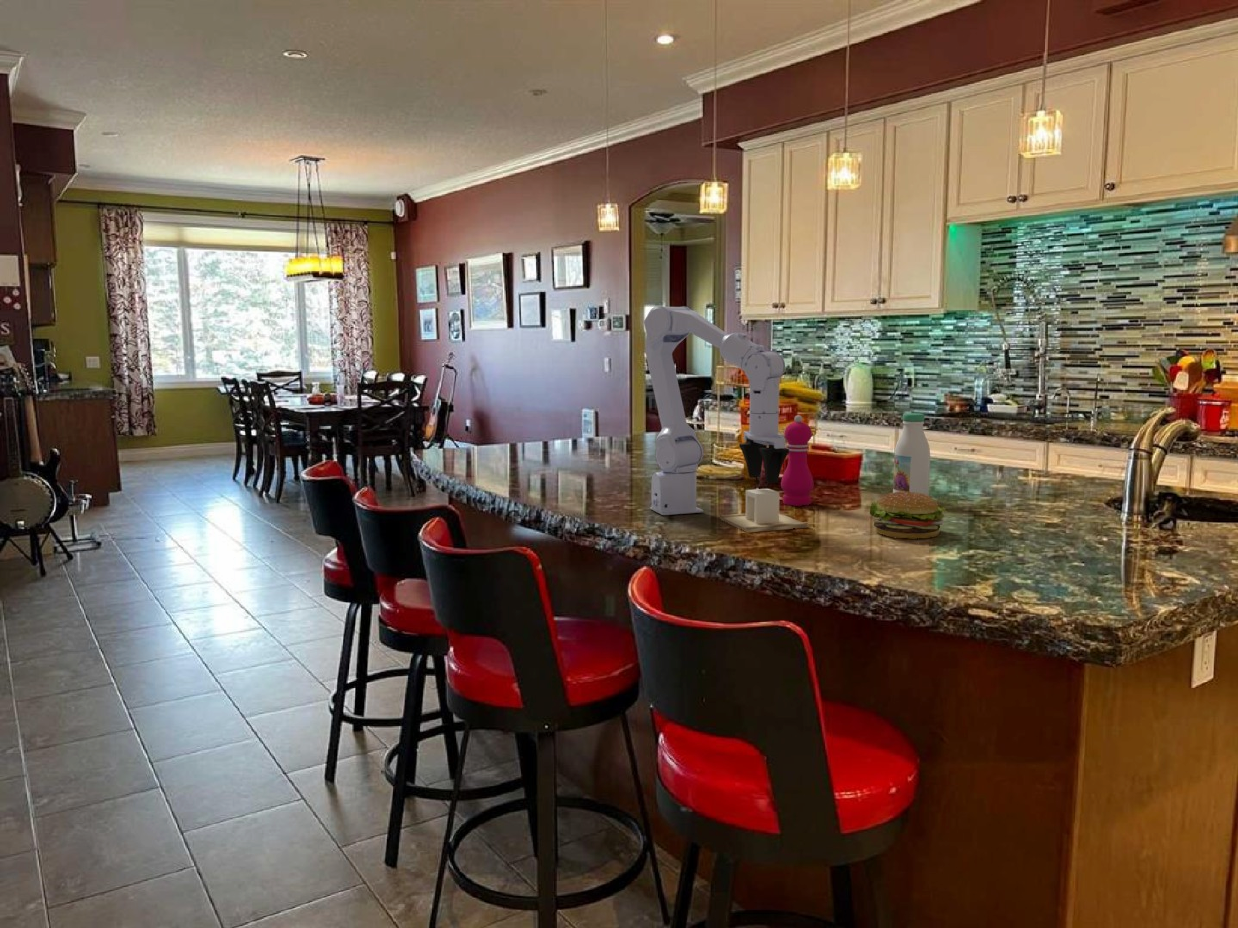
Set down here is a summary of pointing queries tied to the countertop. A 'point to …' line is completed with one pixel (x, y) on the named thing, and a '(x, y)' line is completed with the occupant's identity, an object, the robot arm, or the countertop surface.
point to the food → (907, 515)
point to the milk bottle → (912, 457)
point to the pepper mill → (797, 465)
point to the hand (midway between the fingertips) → (763, 480)
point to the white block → (762, 506)
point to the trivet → (750, 526)
